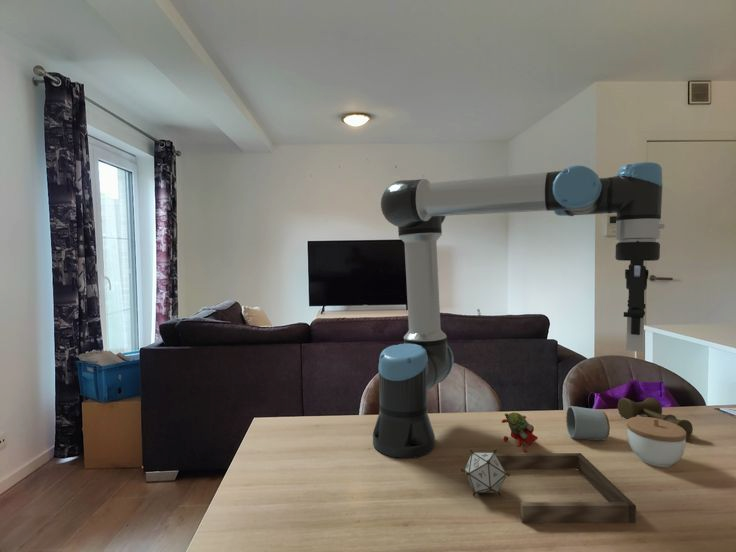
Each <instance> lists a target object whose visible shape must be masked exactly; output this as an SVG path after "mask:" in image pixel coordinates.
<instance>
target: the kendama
mask: <svg viewBox="0 0 736 552" xmlns="http://www.w3.org/2000/svg"><path fill="white" fill-rule="evenodd" d="M617 411H618V413H619V415H620V417H621V418H623V417H624V418H626V419H629V418H632V417H638V416H641V415H642V416H643V415H644V416H646V417H649V416H650V417H651V418H657V419H661V420H665V421H668V422H671V423H674V424H676V425H678V426H680V427H682V428H683V429H684V430H685V431H686V440H687V439H689V438H690V437H691V435H692V434H693V430H694V427H693V424H692V422H691V421H690V420H687V419H678V418H677V417H676V415H673V414H666V415H665V414H663V407H662V405H661V403H660V401H659V400H658V399H656V398H654V397H652V396H651V397H650V396H649V397H646V398H645V399H644V400H642V401H639V402H635V401H634V400H631V399H630V398H627V397H621V398H619V400H618V402H617ZM624 418H623V419H624ZM626 419H625V420H626Z"/></svg>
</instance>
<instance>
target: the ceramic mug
mask: <svg viewBox="0 0 736 552" xmlns="http://www.w3.org/2000/svg"><path fill="white" fill-rule="evenodd" d="M565 419H566V420H565V421H566V428H567V429H566V430H567V433H568V435H569V437H570V438H571V439H573V440H574V439H576V440H577V439H578V440H589V441H591V440H593V441H605V440H607V439H608V438H609V437H610V436H609V435H610V428H611V425H610V420H609V417H608V415H607V414H606V412H605V411H603V410H600V409H597V408H588V407H587V408H586V407H581V406H576V405H575V406H573V405H570V406H569V407H567V411H566V416H565Z"/></svg>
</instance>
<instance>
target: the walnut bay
mask: <svg viewBox="0 0 736 552" xmlns="http://www.w3.org/2000/svg"><path fill="white" fill-rule="evenodd" d="M495 454H496V456H497V458H498V460H499V461H500V463H501V465H502V467H503V468H504V470H505V471H507V470H511V471H512V470H516V471H517V470H519V471H520V470H522V471H523V470H577V471H578V472H579V473H580V474H581V475H582V476H583V477H584V478H585V479H586V480H587V481H588V482H589V483H590V484H591V485H592V486H593V487H594V488H595V490H597V492H598V493H600V495H602V496H603V498H604V499H605V500H606V501H575V502H574V501H557V502H555V501H550V502H549V501H543V502H542V501H540V502H539V501H538V502H537V501H536V502H533V501H532V502H531V501H530V502H529V501H528V502H527V501H525V502H524V501H522V502H520V518H519V519H520V521H521V522H522V523H523V524H563V523H564V524H565V523H566V524H570V523H572V524H573V523H574V524H584V523H585V524H588V523H594V524H596V523H597V524H599V523H601V524H604V523H605V524H606V523H610V524H611V523H616V524H618V523H633V524H634V523H636V521H637V520H636V514H637V513H636V512H637V511H636V509H637V506H636V504H635V503H634V502H633V501H632V500H630V498H629V497H628V496H627V495H625V494H624V493H623V492H622V491H621V490H620V489H619V488H618V487H617V486H616V485H615V484H614V483H613V482H612V481H611V480H610V479H608V477H607V476H605V475H604V473H602V472H601V471H600V470H599V469H598V468H597V467H596V466H595V465H594V464H593V463H592V462H591V461H590V460H589V459H588V458H586V457H585V455H584V454H582V453H581V452H573V453H572V452H570V453H569V452H564V453H563V452H560V453H559V452H558V453H557V452H554V453H551V452H549V453H547V452H546V453H544V452H542V453H541V452H540V453H539V452H537V453H531V452H530V453H527V452H523V453H495Z"/></svg>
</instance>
